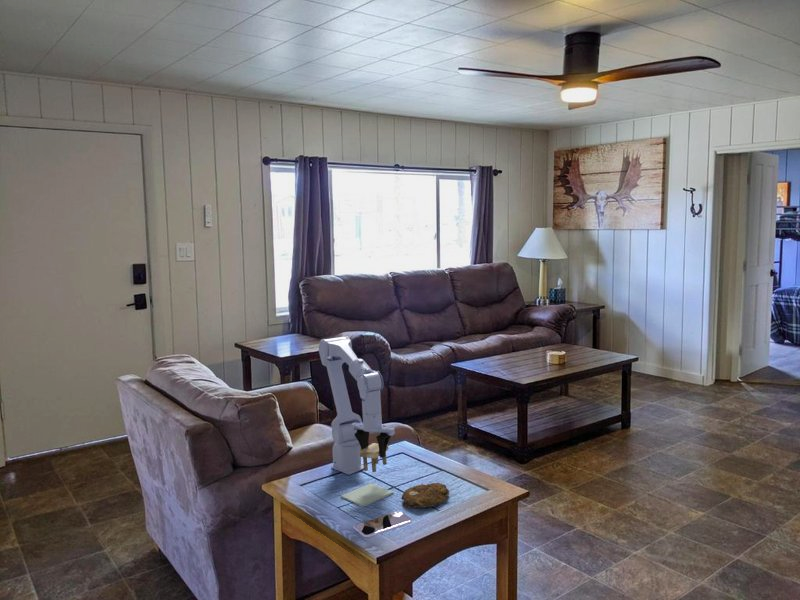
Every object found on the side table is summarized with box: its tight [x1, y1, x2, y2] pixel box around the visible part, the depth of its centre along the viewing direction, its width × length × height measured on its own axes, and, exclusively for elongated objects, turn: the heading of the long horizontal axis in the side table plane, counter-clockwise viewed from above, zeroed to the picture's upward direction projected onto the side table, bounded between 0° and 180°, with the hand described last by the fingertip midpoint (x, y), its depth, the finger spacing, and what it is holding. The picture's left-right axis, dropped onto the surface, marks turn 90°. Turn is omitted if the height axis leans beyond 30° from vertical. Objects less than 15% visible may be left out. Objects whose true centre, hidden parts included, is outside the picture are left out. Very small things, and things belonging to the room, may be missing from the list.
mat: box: [340, 482, 394, 508], centre depth 184 cm, size 10×12×1 cm
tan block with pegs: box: [359, 442, 390, 473], centre depth 189 cm, size 5×8×6 cm
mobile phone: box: [353, 510, 414, 538], centre depth 166 cm, size 8×1×15 cm
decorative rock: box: [401, 482, 451, 509], centre depth 179 cm, size 11×4×15 cm
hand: (374, 455), depth 189 cm, fingers closed on tan block with pegs, 5 cm apart
